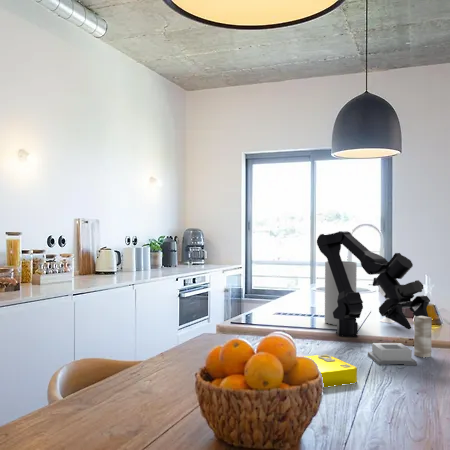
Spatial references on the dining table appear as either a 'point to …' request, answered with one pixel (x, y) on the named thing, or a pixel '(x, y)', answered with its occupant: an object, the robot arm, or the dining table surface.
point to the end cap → (391, 354)
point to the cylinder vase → (332, 290)
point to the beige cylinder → (422, 336)
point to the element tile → (335, 370)
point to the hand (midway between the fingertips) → (420, 327)
